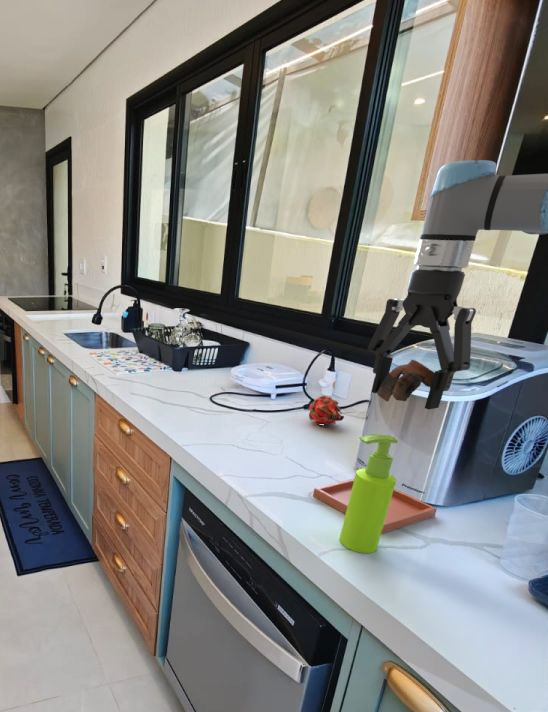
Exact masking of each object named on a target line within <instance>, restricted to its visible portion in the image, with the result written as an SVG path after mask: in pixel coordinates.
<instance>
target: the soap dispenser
mask: <svg viewBox="0 0 548 712" xmlns="http://www.w3.org/2000/svg"><path fill="white" fill-rule="evenodd" d="M358 439H359V440H360V441H362V442H363V443H365V444H367V445H371V444H376V443H378V444H377V447H376V451H374V452H370V453H369V454H368V457H367V458H368V459H367V462H366V465H365V468H359V469H357V470H356V472H355V475H354V478H355V479H354V478H353V479H354V483H353V487H352V491H351V495H350V499H349V503H348V507H347V511H346V514H344V519H343V523H342V527H341V531H340V535H339V542H340V543H341V545H342V546H343V547H345V548H347V549H348V550H351V551H353V552H357V553H361V554H373V553H375V552H376V551H377V549H378V546H379V542H380V539H381V536H382V534H381V532H382V529H383V525H384V522H385V518H386V515H387V511H388V508H389V504H390V501H391V497H392V494H393V490H394V489H395V486H396V482H397V479H396V477H395V476H394V475H392V474H390V470H391V467H392V463H393V460H394V458H393V457H392V456H391V455H390V454H389V452H390V448H391V444H398V439H397V438H396V437H393V436H392V435H389V434H368V435H362V436H360V437H358Z"/></svg>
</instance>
